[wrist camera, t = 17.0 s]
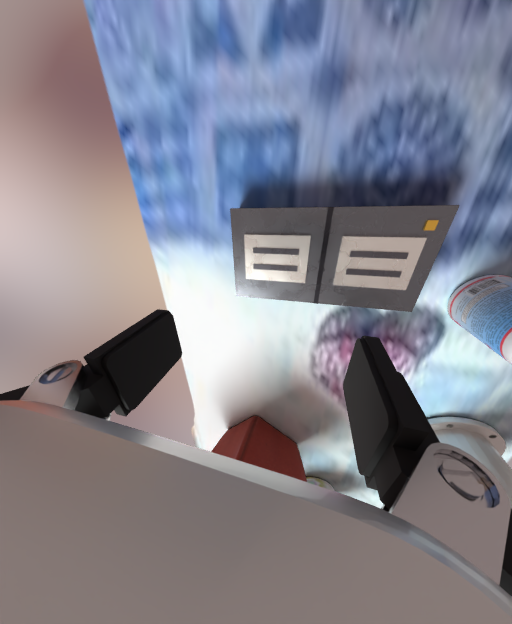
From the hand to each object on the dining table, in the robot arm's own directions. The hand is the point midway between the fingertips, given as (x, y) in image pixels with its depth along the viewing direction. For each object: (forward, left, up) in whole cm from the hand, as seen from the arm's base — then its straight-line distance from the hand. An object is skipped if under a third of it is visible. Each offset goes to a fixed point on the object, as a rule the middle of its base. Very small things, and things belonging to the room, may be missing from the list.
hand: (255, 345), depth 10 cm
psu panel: (-1, -4, -17) cm, 17 cm away
